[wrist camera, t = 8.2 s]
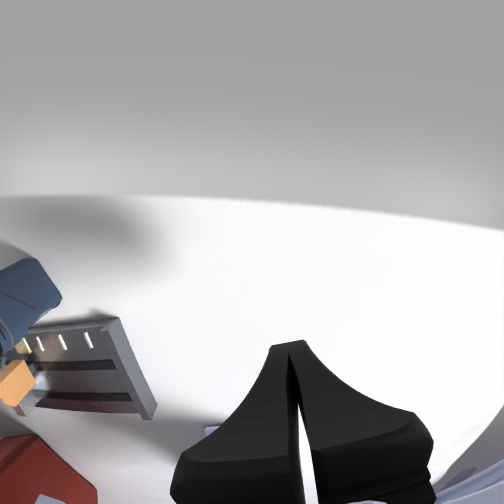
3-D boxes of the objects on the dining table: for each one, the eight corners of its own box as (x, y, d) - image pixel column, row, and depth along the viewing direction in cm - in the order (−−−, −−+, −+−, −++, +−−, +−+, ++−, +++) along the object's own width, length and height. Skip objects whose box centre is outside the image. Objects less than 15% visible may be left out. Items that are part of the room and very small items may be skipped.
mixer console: (157, 404, 25) (145, 435, 21) (27, 398, 26) (10, 418, 22) (118, 317, 22) (97, 343, 19) (-9, 331, 24) (-30, 348, 20)
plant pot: (60, 498, 34) (31, 561, 17) (-16, 424, 30) (-64, 484, 13) (128, 500, 31) (100, 589, 15) (30, 411, 27) (-35, 502, 11)
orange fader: (40, 377, 23) (15, 406, 19) (29, 377, 23) (4, 404, 19) (28, 355, 23) (0, 382, 18) (18, 355, 23) (-10, 381, 18)
